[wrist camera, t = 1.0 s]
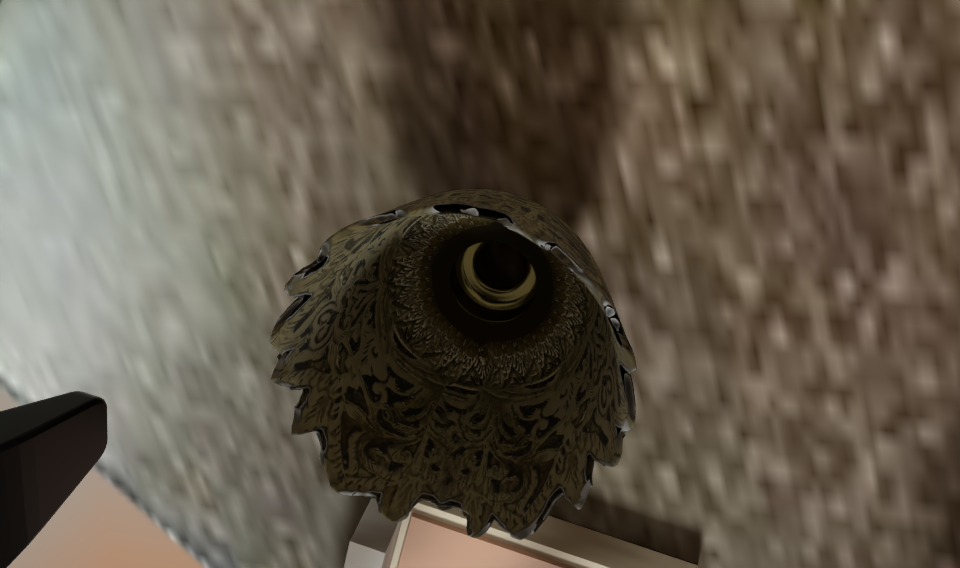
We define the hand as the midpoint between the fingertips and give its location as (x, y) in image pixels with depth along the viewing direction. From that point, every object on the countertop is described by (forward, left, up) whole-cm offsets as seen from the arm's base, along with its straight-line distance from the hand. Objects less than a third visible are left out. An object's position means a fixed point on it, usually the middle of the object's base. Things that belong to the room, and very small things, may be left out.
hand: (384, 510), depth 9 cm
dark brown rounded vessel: (0, 0, -11) cm, 11 cm away
